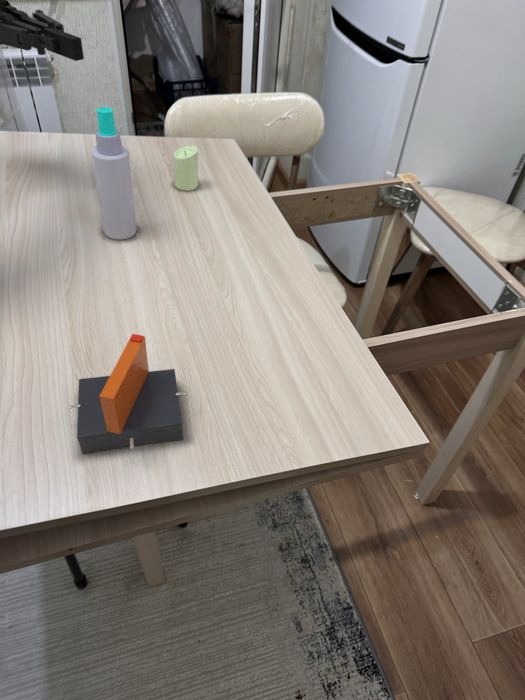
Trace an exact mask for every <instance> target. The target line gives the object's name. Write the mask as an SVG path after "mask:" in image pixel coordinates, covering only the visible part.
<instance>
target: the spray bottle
mask: <svg viewBox="0 0 525 700" xmlns="http://www.w3.org/2000/svg"><path fill="white" fill-rule="evenodd" d="M96 117H97V124H98V129H97V130H96V131H95V142H96V143H95V144H96V146H94V147H93V148H92V150H91V160H92V165H93V166H92V167H93V172H94V179H95V185H96V192H97V198H98V205H99V211H100V215H101V216H100V217H101V222H102V229H103V233H104V235H105V236H106V237H108V238H110V239H113V240H127V239H130V238H132V237H133V236H135V234H136V233H137V229H138V228H137V227H138V226H137V219H136V210H135V209H136V208H135V199H134V190H133V189H134V188H133V178H132V170H131V159H130V151H129V149H128V148H127V147H125V146H123V144H122V138H121V132H120V131H119V130H118V129H116V123H115V117H114V110H113V108H112V107H109V106H99V107H98V108H96Z"/></svg>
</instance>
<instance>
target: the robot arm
mask: <svg viewBox="0 0 525 700" xmlns="http://www.w3.org/2000/svg"><path fill="white" fill-rule="evenodd" d="M64 27H65V26H64V24H63V23H61V22H59V21H57V20H56V19H54V18H52V17H51V16H49V15H47V14H45V13H44V10H41V9H36V10H34V11H32V12H31V15H29V14H28V13H27V12H25V11H24V10H21V9H17V8H16V7H15V6H12V5H11V3H10V2H9V1H8V0H0V46H2V45H3V46H7V47H11V48H16V49H20V50H24V51H30V50H32V48H34V49H36V51H37V55H38V56H46V51H49V52H52V53H54V54H57V55H59V56H62V57H64V58H67V59H69V60H72V61H75V62H77V61H82V60H85V56H84V51H83V50H84V49H83V42H82V38H81V37H80V36H76V35H74V34H71V33H68V32H65V28H64Z"/></svg>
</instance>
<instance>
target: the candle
mask: <svg viewBox="0 0 525 700" xmlns="http://www.w3.org/2000/svg"><path fill="white" fill-rule="evenodd" d="M173 169H174V173H173V174H174V186H175V188H177V189H178V190H181V191H186V192H188V191H193V190H196V189H197V188H198V186H199V150H198V147H197V146H195V145H186V146H182V147H180V148H178V149H177V150H175V152H174V153H173Z"/></svg>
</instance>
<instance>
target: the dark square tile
mask: <svg viewBox="0 0 525 700" xmlns="http://www.w3.org/2000/svg"><path fill="white" fill-rule="evenodd" d="M109 377H110V375H105V376H95V377H93V376H92V377H86V378H85V377H84V378H79V379H78V396H77V397H78V398H77V400H78V402H77V404H72V405H68V406H67V409H68V410H70V409H77V425H76V426H77V427H76V438H77V442H78V445H79V448H80V451H81V454H82V455H83V454H84V455H85V454H90V453H92V454H93V453H99V452H106V451H113V450H119V449H127V448H129V449H130V450H133V449H135V447H140V446H141V447H142V446H149V445H155V444H163V443H170V442H176V441H183V440H184V428H183V425H184V423H183V418H182V417H183V416H182V411H181V405H180V397H179V396H187V395H188V391H181V392H179V391H178V390H179V389H178V384H177V377H176V369H175V368H170V369H169V368H168V369H160V370H152V371H149V373H148V375H147V377H146V379H145V381H144V384H143V386H142V388H141V390H140V392H139V395H138V397H137V399H136V401H135V403H134V405H133V408H132V410H131V412H130V414H129V416H128V419H127V421H126V423H125V425H124V427H123V430H122V432H121V434H117V433H112V432H108V431H107V428H106V423H105V419H104V414H103V410H102V405H101V401H100V397H99V396H100V394H101V392H102V390H103V388H104V387H105V385H106V383H107V381H108V379H109Z"/></svg>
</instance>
